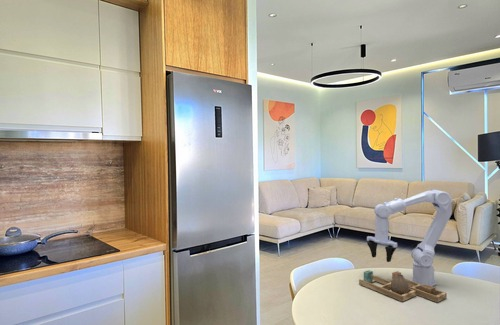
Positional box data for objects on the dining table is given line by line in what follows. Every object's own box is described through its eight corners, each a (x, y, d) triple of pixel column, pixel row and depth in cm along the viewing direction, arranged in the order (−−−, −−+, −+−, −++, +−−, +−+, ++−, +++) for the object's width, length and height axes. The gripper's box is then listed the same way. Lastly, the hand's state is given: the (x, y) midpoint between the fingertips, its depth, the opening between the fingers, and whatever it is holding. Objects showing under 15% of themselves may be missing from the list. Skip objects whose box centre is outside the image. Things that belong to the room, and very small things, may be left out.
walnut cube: (425, 293, 134) (425, 284, 134) (435, 296, 130) (435, 287, 130) (420, 295, 131) (420, 286, 131) (430, 299, 128) (430, 289, 128)
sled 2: (399, 281, 145) (399, 270, 145) (446, 297, 128) (446, 285, 128) (389, 284, 141) (389, 273, 141) (437, 302, 124) (437, 289, 124)
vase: (411, 300, 127) (411, 278, 127) (393, 298, 128) (393, 277, 128) (405, 292, 134) (405, 272, 133) (388, 291, 134) (388, 271, 134)
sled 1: (373, 279, 147) (373, 268, 147) (416, 295, 130) (416, 283, 130) (358, 283, 141) (359, 273, 141) (402, 301, 124) (402, 289, 124)
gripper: (363, 228, 149) (362, 256, 150) (391, 234, 137) (390, 265, 137) (372, 226, 153) (371, 254, 153) (400, 232, 141) (399, 262, 141)
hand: (381, 259), depth 146 cm, fingers open, 7 cm apart
